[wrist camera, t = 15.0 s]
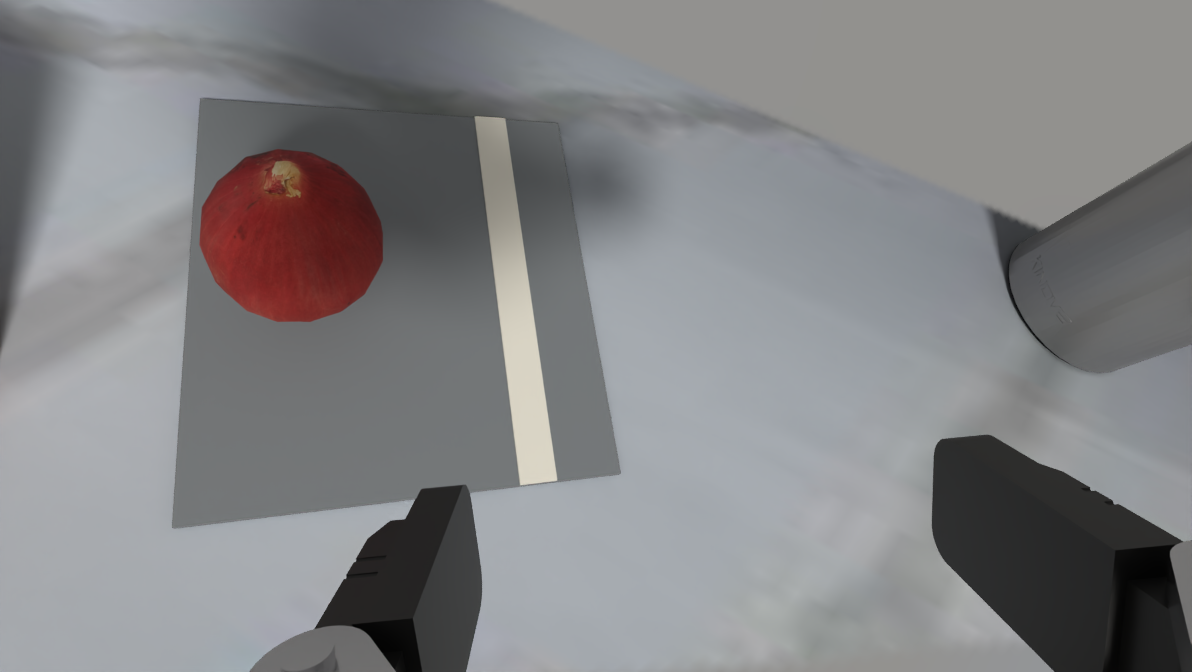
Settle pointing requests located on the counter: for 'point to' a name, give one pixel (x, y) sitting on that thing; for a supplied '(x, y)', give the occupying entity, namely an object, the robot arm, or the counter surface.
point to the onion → (291, 236)
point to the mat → (398, 327)
